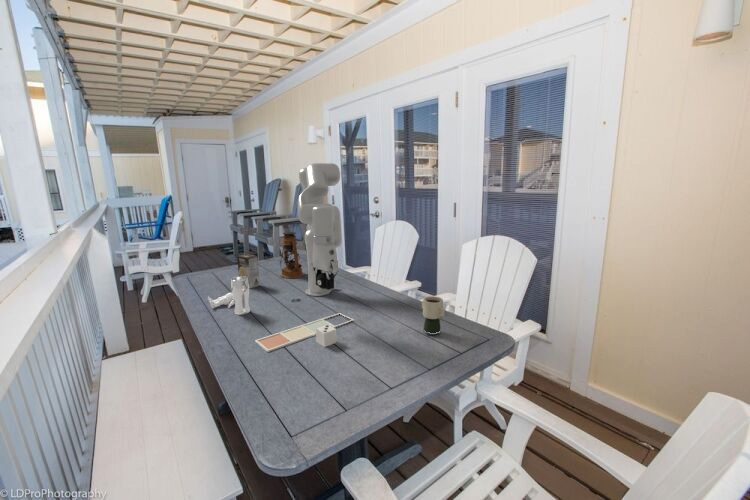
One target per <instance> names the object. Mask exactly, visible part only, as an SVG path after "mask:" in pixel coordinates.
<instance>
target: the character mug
mask: <svg viewBox="0 0 750 500" xmlns="http://www.w3.org/2000/svg"><path fill="white" fill-rule="evenodd" d="M421 308H422V315H423V317H424V318H425V319H424V324H423V330H425V331H426V332H430V333H436V332H439V331H440V329H441V318H444V317H445V315H446V314H445V312H446V311H445V310H446V309H445V308H444V299H443V298H442V297H439V296H433V295H432V296H431V295H429V296H425V297H423V299H422V301H421Z"/></svg>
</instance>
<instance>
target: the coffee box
mask: <svg viewBox="0 0 750 500" xmlns="http://www.w3.org/2000/svg"><path fill="white" fill-rule="evenodd" d="M236 259H237V271H238V276H247V277H248V281H249V289H252V288H256V287H258V286H260V271H259V256H258V255H254V254H250V253H243V254H239V255H237V256H236Z"/></svg>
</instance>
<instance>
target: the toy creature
mask: <svg viewBox="0 0 750 500" xmlns="http://www.w3.org/2000/svg"><path fill="white" fill-rule="evenodd" d="M207 300H208V301H209V304H210V307H211V309H216V308H218V307H221V306H223V305H225V306H227V308H228V309H229V308H231V307H232V306H235V302H234V299H233V295H232V292H228V293H226V294H224V295H223V296H220V297H219V296H218V297H217V298H216V299H213V298H212V297H210V295H209V296H207Z"/></svg>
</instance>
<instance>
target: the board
mask: <svg viewBox="0 0 750 500" xmlns="http://www.w3.org/2000/svg"><path fill="white" fill-rule="evenodd" d="M339 314H340V315H339ZM336 315H338V316H341V315H342V316H341V317H343V316H344V317H343V318H345V317H347V318H349V319H351V320H349V319H348V321H344V322H342V323H340V324H336V325H334V324H332V323H331V322H329V321H327V320H329V319H331V318H330V317H332V318H334V317H333V316H335V317H337V316H336ZM328 318H329V319H328ZM347 318H346V319H347ZM325 319H326V320H325ZM353 320H354V321H355V319H354V318H352V317H349V316H348V315H345V314H343V313H341V312H339V313H335V314H332V315H329V316H325V317H322V318H319V319H316V320H313V321H310V322H306V323H304V324H300V325H299V326H294V327H292V328H289V329H286V330H282V331H280V332H277V333H273V334H271V335H268V336H264V337H261V338H258V339H255V340H254V343H255V344H256V345H258V346H259V347H260V348H261V349H263V350H264V351H265V352H266V353H269V352H273V351H275V350H278V349H280V348H283V347H286V346H289V345H292V344H294V343H295V344H296V343H298V342H300V341H303V340H305V339H309V338H312V337H314V336H316V328H319V327H322V326H325V325H330V326H332V327H333V328H335V329H337V328H339V327H342V326H344V325H343V324H345V325H347V324H346V323H348V322H351V321H353ZM354 321H353V322H354ZM351 323H352V322H351ZM348 324H349V323H348ZM341 325H342V326H341ZM338 326H339V327H338ZM336 327H337V328H336Z"/></svg>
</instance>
